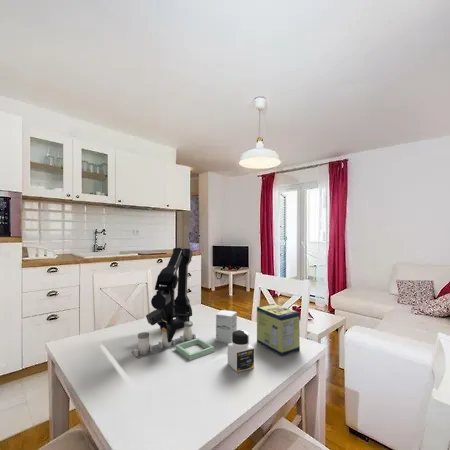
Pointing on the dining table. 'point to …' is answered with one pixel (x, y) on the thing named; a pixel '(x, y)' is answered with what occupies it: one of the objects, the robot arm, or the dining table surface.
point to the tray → (194, 355)
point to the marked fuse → (165, 339)
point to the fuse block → (147, 349)
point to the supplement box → (225, 326)
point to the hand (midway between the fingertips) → (166, 340)
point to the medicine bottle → (240, 351)
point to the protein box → (278, 329)
